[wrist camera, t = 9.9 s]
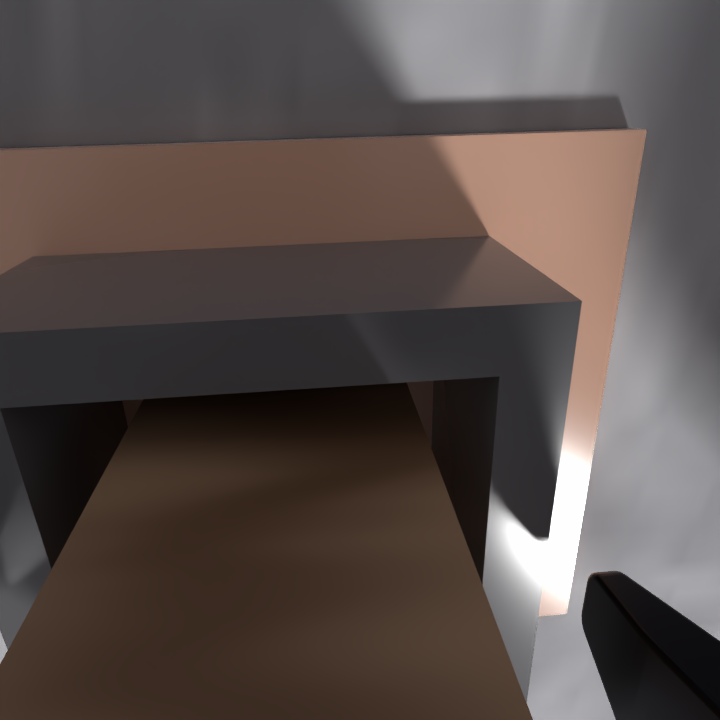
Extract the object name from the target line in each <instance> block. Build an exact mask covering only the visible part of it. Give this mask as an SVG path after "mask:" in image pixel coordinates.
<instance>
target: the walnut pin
mask: <svg viewBox="0 0 720 720" xmlns="http://www.w3.org/2000/svg"><path fill="white" fill-rule="evenodd" d="M0 720H533V719H532V716H531V714H530V711H529V708H528V706H527V703H526V700H525V698H524V695H523V692H522V690H521V687H520V684H519V682H518V679H517V676H516V674H515V671H514V668H513V666H512V663H511V660H510V658H509V655H508V652H507V650H506V647H505V644H504V642H503V639H502V636H501V634H500V631H499V628H498V626H497V623H496V620H495V618H494V615H493V612H492V609H491V607H490V604H489V601H488V599H487V596H486V593H485V591H484V588H483V585H482V583H481V580H480V577H479V575H478V572H477V569H476V567H475V564H474V561H473V559H472V556H471V553H470V551H469V548H468V545H467V543H466V540H465V537H464V535H463V532H462V529H461V527H460V524H459V521H458V519H457V516H456V513H455V511H454V508H453V505H452V503H451V500H450V497H449V494H448V492H447V489H446V486H445V484H444V481H443V478H442V476H441V473H440V470H439V468H438V465H437V462H436V460H435V457H434V454H433V452H432V449H431V446H430V444H429V441H428V438H427V436H426V433H425V430H424V428H423V425H422V422H421V420H420V417H419V414H418V412H417V409H416V406H415V404H414V401H413V398H412V396H411V393H410V390H409V387H408V385H407V382H405V383H389V384H374V385H358V386H342V387H327V388H311V389H295V390H279V391H264V392H248V393H232V394H217V395H201V396H185V397H169V398H154V399H143V401H142V403H141V405H140V406H139V408H138V410H137V412H136V414H135V416H134V418H133V419H132V421H131V423H130V425H129V427H128V429H127V431H126V432H125V434H124V436H123V438H122V440H121V442H120V444H119V445H118V447H117V449H116V451H115V453H114V455H113V456H112V458H111V460H110V462H109V464H108V466H107V468H106V469H105V471H104V473H103V475H102V477H101V479H100V481H99V482H98V484H97V486H96V488H95V490H94V492H93V494H92V495H91V497H90V499H89V501H88V503H87V505H86V507H85V508H84V510H83V512H82V514H81V516H80V518H79V519H78V521H77V523H76V525H75V527H74V529H73V531H72V532H71V534H70V536H69V538H68V540H67V542H66V544H65V545H64V547H63V549H62V551H61V553H60V555H59V557H58V558H57V560H56V562H55V564H54V566H53V568H52V569H51V571H50V573H49V575H48V577H47V579H46V581H45V582H44V584H43V586H42V588H41V590H40V592H39V594H38V595H37V597H36V599H35V601H34V603H33V605H32V607H31V608H30V610H29V612H28V614H27V616H26V618H25V620H24V621H23V623H22V625H21V627H20V629H19V631H18V632H17V634H16V636H15V638H14V640H13V642H12V644H11V645H10V647H9V649H8V651H7V653H6V655H5V657H4V658H3V660H2V662H1V664H0Z"/></svg>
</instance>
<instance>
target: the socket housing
mask: <svg viewBox="0 0 720 720" xmlns="http://www.w3.org/2000/svg"><path fill="white" fill-rule="evenodd" d="M646 132H647V130H645V129H632V128H626V129H595V130H564V131H532V132H501V133H470V134H439V135H408V136H377V137H346V138H315V139H284V140H253V141H222V142H190V143H159V144H128V145H97V146H66V147H35V148H4V149H0V631H1V633H2V636H3V639H4V641H5V644H6V646H7V649H9V647H10V645H11V644H12V642H13V640H14V638H15V636H16V634H17V632H18V631H19V629H20V627H21V625H22V623H23V621H24V620H25V618H26V616H27V614H28V612H29V610H30V608H31V607H32V605H33V603H34V601H35V599H36V597H37V595H38V594H39V592H40V590H41V588H42V586H43V584H44V582H45V581H46V579H47V577H48V575H49V573H50V571H51V569H52V568H53V566H54V564H55V562H56V560H57V558H58V557H59V555H60V553H61V551H62V549H63V547H64V545H65V544H66V542H67V540H68V538H69V536H70V534H71V532H72V531H73V529H74V527H75V525H76V523H77V521H78V519H79V518H80V516H81V514H82V512H83V510H84V508H85V507H86V505H87V503H88V501H89V499H90V497H91V495H92V494H93V492H94V490H95V488H96V486H97V484H98V482H99V481H100V479H101V477H102V475H103V473H104V471H105V469H106V468H107V466H108V464H109V462H110V460H111V458H112V456H113V455H114V453H115V451H116V449H117V447H118V445H119V444H120V442H121V440H122V438H123V436H124V434H125V432H126V431H127V429H128V427H129V425H130V423H131V421H132V419H133V418H134V416H135V414H136V412H137V410H138V408H139V406H140V405H141V403H142V401H143V399H154V398H169V397H185V396H201V395H217V394H232V393H248V392H264V391H279V390H295V389H311V388H327V387H342V386H358V385H374V384H389V383H405V382H407V385H408V387H409V390H410V393H411V396H412V398H413V401H414V404H415V406H416V409H417V412H418V414H419V417H420V420H421V422H422V425H423V428H424V430H425V433H426V436H427V438H428V441H429V444H430V446H431V449H432V452H433V454H434V457H435V460H436V462H437V465H438V468H439V470H440V473H441V476H442V478H443V481H444V484H445V486H446V489H447V492H448V494H449V497H450V500H451V503H452V505H453V508H454V511H455V513H456V516H457V519H458V521H459V524H460V527H461V529H462V532H463V535H464V537H465V540H466V543H467V545H468V548H469V551H470V553H471V556H472V559H473V561H474V564H475V567H476V569H477V572H478V575H479V577H480V580H481V583H482V585H483V588H484V591H485V593H486V596H487V599H488V601H489V604H490V607H491V609H492V612H493V615H494V618H495V620H496V623H497V626H498V628H499V631H500V634H501V636H502V639H503V642H504V644H505V647H506V650H507V652H508V655H509V658H510V660H511V663H512V666H513V668H514V671H515V674H516V676H517V679H518V682H519V684H520V687H521V690H522V692H523V695H524V698H525V700H526V702H527V695H528V687H529V680H530V673H531V666H532V659H533V651H534V644H535V637H536V630H537V623H538V616H549V615H559V614H567V609H568V603H569V597H570V591H571V585H572V579H573V573H574V567H575V561H576V555H577V549H578V543H579V537H580V531H581V525H582V519H583V513H584V507H585V501H586V495H587V489H588V482H589V476H590V470H591V464H592V458H593V452H594V446H595V440H596V434H597V428H598V422H599V416H600V410H601V404H602V398H603V392H604V386H605V380H606V374H607V368H608V362H609V356H610V350H611V344H612V338H613V332H614V326H615V320H616V314H617V307H618V301H619V295H620V289H621V283H622V277H623V271H624V265H625V259H626V253H627V247H628V241H629V235H630V229H631V223H632V217H633V211H634V205H635V199H636V193H637V187H638V181H639V175H640V169H641V163H642V157H643V151H644V145H645V139H646Z"/></svg>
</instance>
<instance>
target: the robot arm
mask: <svg viewBox="0 0 720 720" xmlns="http://www.w3.org/2000/svg"><path fill="white" fill-rule="evenodd" d="M582 625H583V630H584V633H585V636H586V638H587V641H588V644H589V647H590V649H591V652H592V655H593V658H594V660H595V663H596V666H597V669H598V672H599V674H600V677H601V680H602V683H603V685H604V688H605V691H606V694H607V696H608V699H609V702H610V705H611V708H612V710H613V713H614V716H615V719H616V720H720V641H719V640H718V639H716V638H715V637H713V636H712V635H710V634H709V633H708V632H706V631H705V630H703V629H702V628H701V627H699V626H698V625H696V624H695V623H693V622H692V621H691V620H689V619H688V618H686V617H685V616H683V615H682V614H681V613H679V612H678V611H676V610H675V609H673V608H672V607H671V606H669V605H668V604H666V603H665V602H663V601H662V600H661V599H659V598H658V597H656V596H655V595H653V594H652V593H651V592H649V591H648V590H646V589H645V588H643V587H642V586H641V585H639V584H638V583H636V582H635V581H633V580H632V579H631V578H629V577H628V576H626V575H625V574H623V573H621V572H619V571H608V572H596V573H593V574H591V575H590V576H589V578H588V581H587V587H586V592H585V598H584V603H583V609H582Z"/></svg>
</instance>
